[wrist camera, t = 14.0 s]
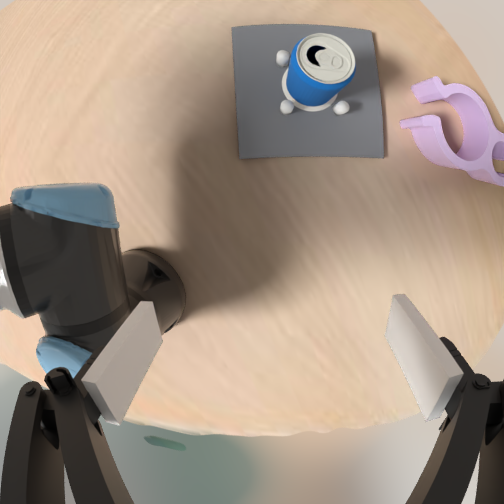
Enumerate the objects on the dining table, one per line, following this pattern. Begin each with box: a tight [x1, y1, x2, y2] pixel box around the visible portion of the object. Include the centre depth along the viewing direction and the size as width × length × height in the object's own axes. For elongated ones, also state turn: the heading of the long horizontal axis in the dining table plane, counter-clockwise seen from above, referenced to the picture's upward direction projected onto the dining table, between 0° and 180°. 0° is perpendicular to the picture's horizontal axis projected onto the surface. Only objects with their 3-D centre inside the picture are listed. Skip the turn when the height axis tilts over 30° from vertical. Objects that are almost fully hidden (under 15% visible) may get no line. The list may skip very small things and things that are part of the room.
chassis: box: [232, 24, 384, 159], centre depth 31 cm, size 20×20×4 cm
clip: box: [400, 76, 504, 186], centre depth 30 cm, size 20×12×7 cm, turn 70°
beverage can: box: [286, 33, 356, 107], centre depth 26 cm, size 6×6×12 cm
